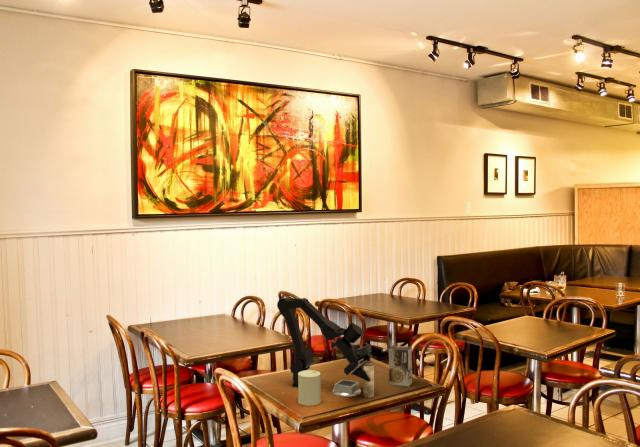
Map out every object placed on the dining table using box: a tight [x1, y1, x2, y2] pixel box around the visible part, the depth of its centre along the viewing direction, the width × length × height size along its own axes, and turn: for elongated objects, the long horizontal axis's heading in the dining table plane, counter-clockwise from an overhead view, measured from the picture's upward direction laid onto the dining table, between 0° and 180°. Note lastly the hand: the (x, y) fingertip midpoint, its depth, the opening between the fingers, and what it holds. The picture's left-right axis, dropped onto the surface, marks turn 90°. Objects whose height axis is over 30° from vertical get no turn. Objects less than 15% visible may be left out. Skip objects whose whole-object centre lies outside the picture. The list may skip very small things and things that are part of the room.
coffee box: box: [388, 345, 413, 388], centre depth 242 cm, size 9×6×16 cm
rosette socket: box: [332, 378, 362, 398], centre depth 232 cm, size 12×12×4 cm
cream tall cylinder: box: [362, 360, 375, 398], centre depth 227 cm, size 4×4×14 cm
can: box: [297, 369, 322, 407], centre depth 220 cm, size 9×9×12 cm
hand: (371, 379), depth 226 cm, fingers closed on cream tall cylinder, 4 cm apart
